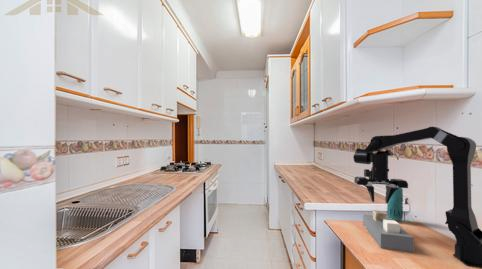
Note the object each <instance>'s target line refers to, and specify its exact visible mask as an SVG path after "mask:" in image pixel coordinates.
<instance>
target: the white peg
mask: <svg viewBox="0 0 482 269" xmlns="http://www.w3.org/2000/svg"><path fill="white" fill-rule="evenodd" d="M400 227H401V224H400V223H399V222H397V221H396V220H395V219H392V220H384V219H383V229H384V230H385V231H386V232H392V233H400Z"/></svg>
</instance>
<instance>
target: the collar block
mask: <svg viewBox="0 0 482 269" xmlns="http://www.w3.org/2000/svg"><path fill="white" fill-rule="evenodd" d="M387 220H393V219H391V218H389V217H387ZM363 225H364V226H365V227H366V229H367V230H368V231H367V230H366V229H365V230H366V231H367V233H368V234H369V233H370V234H371V235H370V234H369V235H370V236H371V238H372V239H373V238H374V239H373V240H374V241H375V243H376V244H377V245H378V246H379V248H381V249H385V250H386V249H388V250H392V251H393V250H395V251H400V252H401V251H403V252H410V253H414V250H415V249H414V248H415V246H414V245H415V244H414V241H415V240H414V239H415V238H414V236H413V235H412V234H410V233H409V232H407V230H405V229H404V228H403V227H401V226H400V233H392V232H386V231H385V230H384V229H383V221H375V220H374V219H373V214H362V226H363ZM364 226H363V227H364ZM365 227H364V228H365Z"/></svg>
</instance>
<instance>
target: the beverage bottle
mask: <svg viewBox="0 0 482 269" xmlns="http://www.w3.org/2000/svg"><path fill="white" fill-rule="evenodd" d="M392 179H393V178H389V180H390V181H391V180H392ZM397 188H399V187H398V186H397ZM403 192H404V188H399V190H396V191H395V192H394V193H393V195H392V196H391V198H390V200H389V202H388V203H386V204H387V206H386V214H387V217H389V218H390V219H392V220H394V221H396V220H397V221H402V220H403V218H404V216H403V215H404V202H403V201H404V193H403Z"/></svg>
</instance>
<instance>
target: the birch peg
mask: <svg viewBox="0 0 482 269" xmlns="http://www.w3.org/2000/svg"><path fill="white" fill-rule="evenodd" d="M372 215H373V219H374V220H375V221H383V219H384V220H387V212H385V211H384V210H377V209H376V210H375V209H373V210H372Z"/></svg>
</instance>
